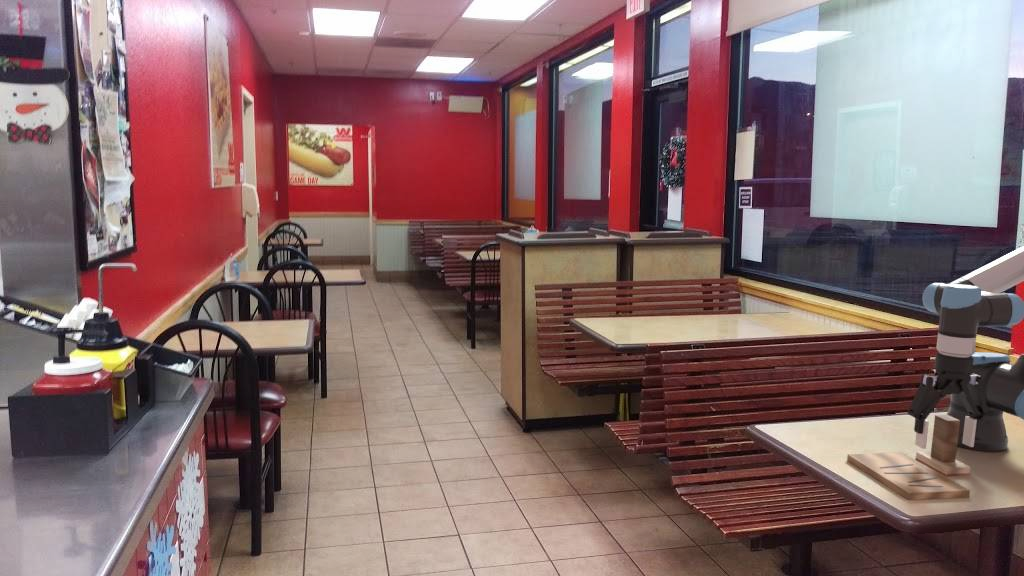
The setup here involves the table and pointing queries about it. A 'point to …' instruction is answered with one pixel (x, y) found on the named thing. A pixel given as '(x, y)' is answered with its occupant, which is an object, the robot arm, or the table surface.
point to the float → (944, 448)
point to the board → (908, 476)
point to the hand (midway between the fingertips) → (944, 445)
